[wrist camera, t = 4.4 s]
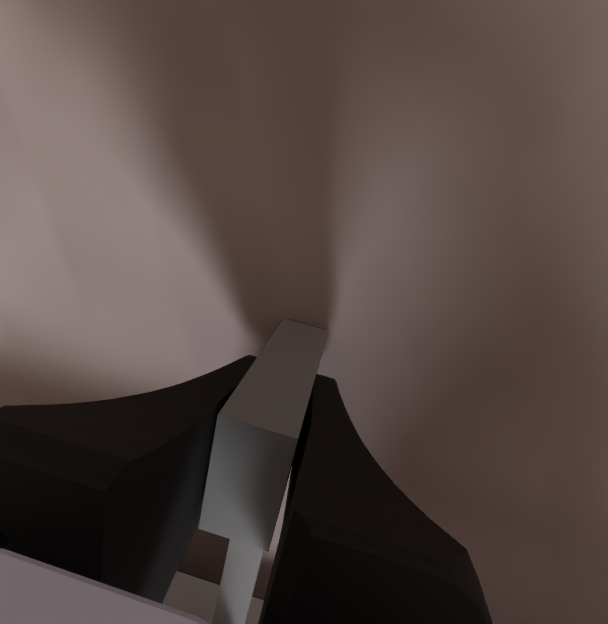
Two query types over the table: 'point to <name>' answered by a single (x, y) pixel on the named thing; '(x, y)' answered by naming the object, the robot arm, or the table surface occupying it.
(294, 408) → the grey t-shaped piece
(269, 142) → the table surface
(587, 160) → the table surface
